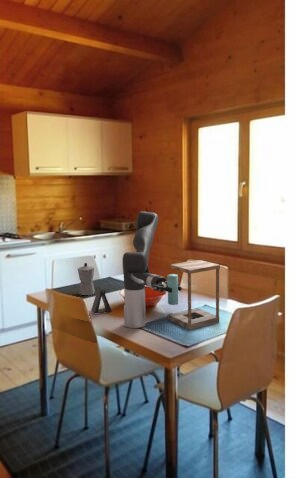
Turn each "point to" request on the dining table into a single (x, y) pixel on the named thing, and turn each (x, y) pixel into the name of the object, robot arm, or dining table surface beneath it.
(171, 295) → the peg
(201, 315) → the tan frame
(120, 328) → the dining table surface
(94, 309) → the phone stand
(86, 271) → the coffeepot
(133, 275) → the robot arm
